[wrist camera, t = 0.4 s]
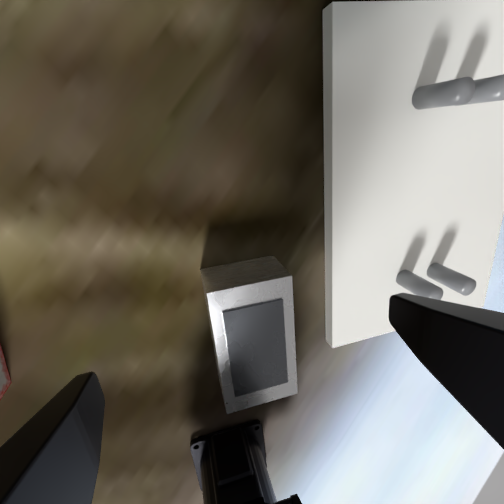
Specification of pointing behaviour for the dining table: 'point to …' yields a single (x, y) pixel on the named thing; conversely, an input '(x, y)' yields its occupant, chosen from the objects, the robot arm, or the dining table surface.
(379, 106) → the white peg board
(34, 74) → the dining table surface
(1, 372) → the white gabled carton
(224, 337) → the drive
